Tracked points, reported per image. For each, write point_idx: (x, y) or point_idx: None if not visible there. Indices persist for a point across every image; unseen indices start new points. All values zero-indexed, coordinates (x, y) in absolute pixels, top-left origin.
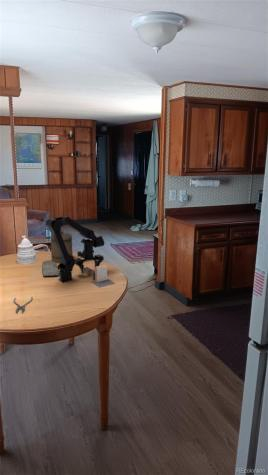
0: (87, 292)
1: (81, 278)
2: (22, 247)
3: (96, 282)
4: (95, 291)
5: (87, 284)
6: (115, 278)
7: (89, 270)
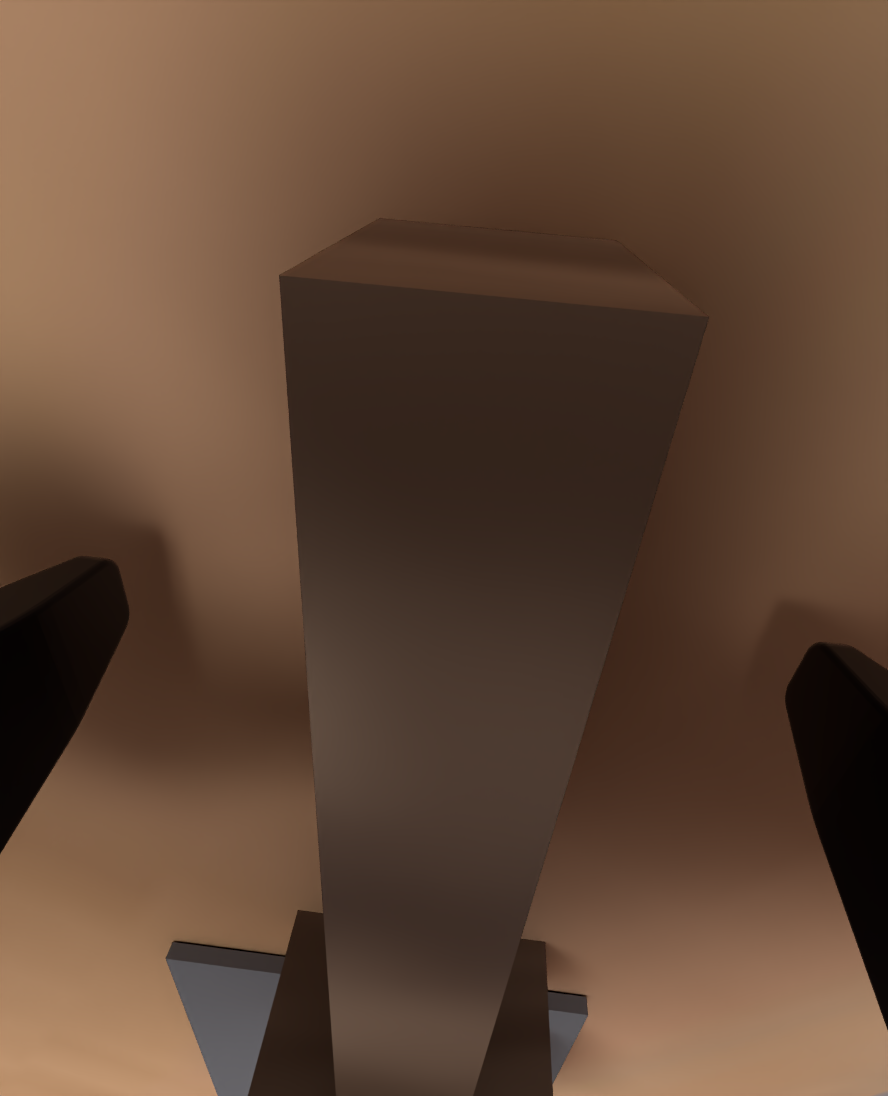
0: (10, 1066)
1: None
2: None
3: None
4: (126, 1093)
5: (88, 959)
6: (743, 1060)
7: (342, 889)
